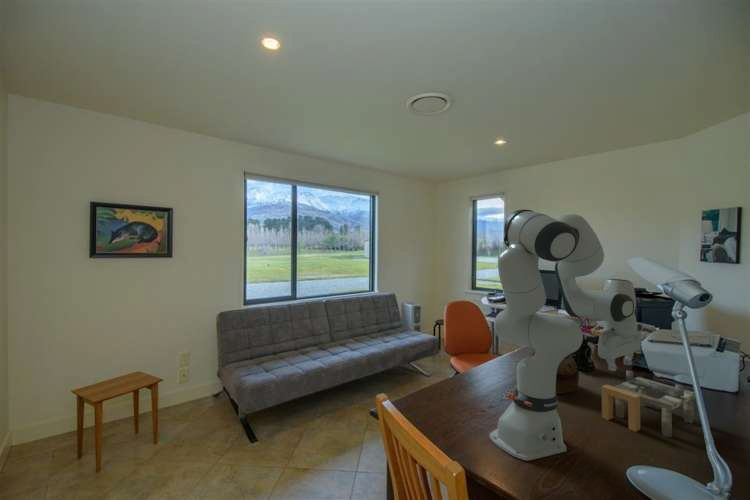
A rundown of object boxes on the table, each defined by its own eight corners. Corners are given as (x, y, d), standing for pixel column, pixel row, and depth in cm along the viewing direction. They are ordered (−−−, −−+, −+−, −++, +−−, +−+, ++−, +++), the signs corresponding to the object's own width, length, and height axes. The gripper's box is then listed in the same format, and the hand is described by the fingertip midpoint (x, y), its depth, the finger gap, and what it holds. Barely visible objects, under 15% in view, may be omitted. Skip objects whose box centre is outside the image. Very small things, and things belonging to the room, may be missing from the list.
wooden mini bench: (640, 429, 105) (640, 395, 105) (635, 431, 104) (635, 397, 104) (606, 415, 114) (606, 384, 114) (601, 417, 113) (601, 386, 113)
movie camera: (609, 367, 157) (606, 331, 157) (590, 377, 148) (587, 338, 148) (548, 352, 184) (545, 322, 184) (528, 360, 175) (525, 327, 175)
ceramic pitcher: (530, 394, 131) (529, 320, 131) (523, 375, 150) (522, 311, 150) (586, 400, 125) (585, 323, 125) (570, 380, 145) (570, 313, 144)
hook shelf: (671, 438, 100) (670, 393, 100) (613, 415, 114) (612, 375, 114) (696, 422, 109) (695, 381, 108) (639, 402, 123) (639, 366, 123)
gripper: (613, 333, 101) (614, 377, 101) (645, 324, 111) (646, 364, 111) (591, 329, 107) (592, 370, 107) (624, 320, 116) (625, 358, 116)
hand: (620, 367), depth 109 cm, fingers open, 8 cm apart
